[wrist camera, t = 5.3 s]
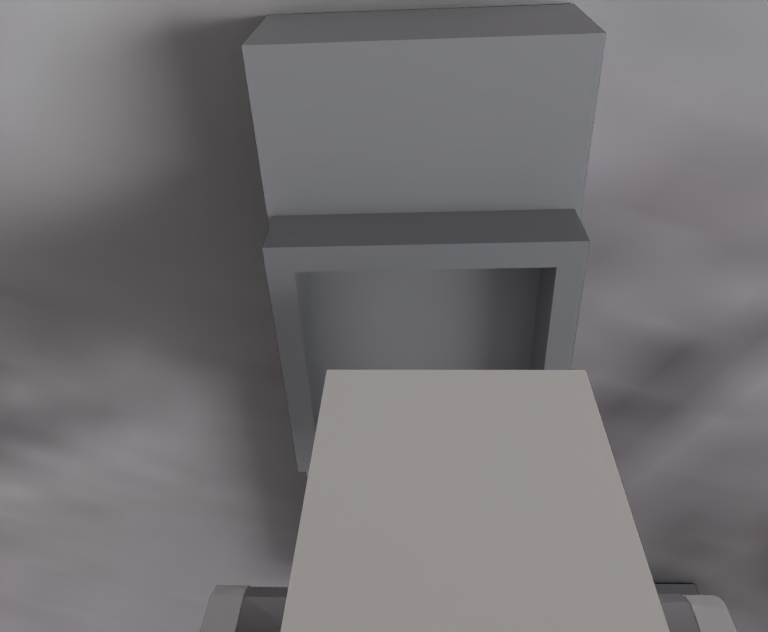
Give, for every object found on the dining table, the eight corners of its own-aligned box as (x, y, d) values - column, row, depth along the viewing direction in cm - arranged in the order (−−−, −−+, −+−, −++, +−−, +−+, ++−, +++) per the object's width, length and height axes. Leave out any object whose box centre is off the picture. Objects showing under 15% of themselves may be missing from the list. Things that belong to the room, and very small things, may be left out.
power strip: (573, 3, 15) (627, 52, 12) (505, 619, 29) (519, 730, 25) (267, 14, 16) (223, 65, 12) (344, 618, 29) (335, 728, 26)
